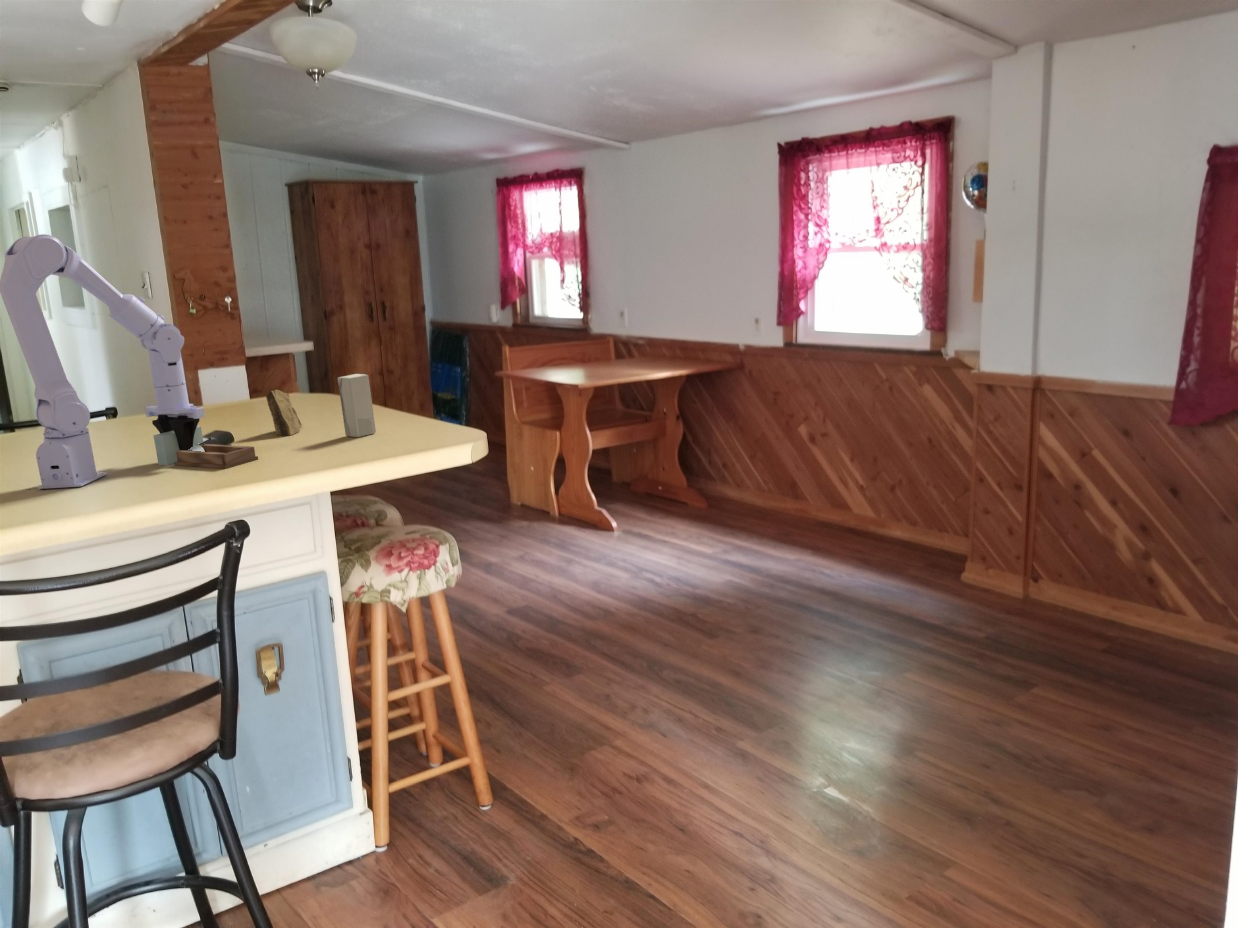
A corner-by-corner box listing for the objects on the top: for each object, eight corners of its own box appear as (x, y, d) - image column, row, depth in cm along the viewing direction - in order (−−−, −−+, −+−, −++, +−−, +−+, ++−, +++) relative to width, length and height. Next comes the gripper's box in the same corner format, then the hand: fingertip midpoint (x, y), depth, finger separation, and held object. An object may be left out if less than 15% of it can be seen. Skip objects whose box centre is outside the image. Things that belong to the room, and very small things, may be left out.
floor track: (258, 459, 186) (256, 446, 186) (225, 468, 180) (223, 455, 179) (207, 456, 193) (205, 443, 192) (174, 465, 186) (172, 452, 185)
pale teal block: (196, 455, 195) (192, 426, 193) (205, 455, 194) (201, 426, 192) (158, 465, 187) (153, 435, 186) (167, 466, 186) (162, 435, 185)
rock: (285, 416, 222) (252, 418, 213) (301, 386, 219) (267, 387, 210) (314, 445, 219) (281, 449, 210) (331, 416, 216) (298, 418, 207)
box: (364, 431, 209) (357, 373, 206) (376, 433, 206) (369, 374, 203) (343, 436, 205) (336, 376, 202) (356, 438, 202) (348, 377, 199)
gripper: (212, 382, 187) (223, 450, 190) (162, 381, 194) (173, 447, 197) (182, 388, 181) (193, 458, 184) (131, 387, 188) (143, 454, 191)
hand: (181, 453), depth 190 cm, fingers open, 3 cm apart
